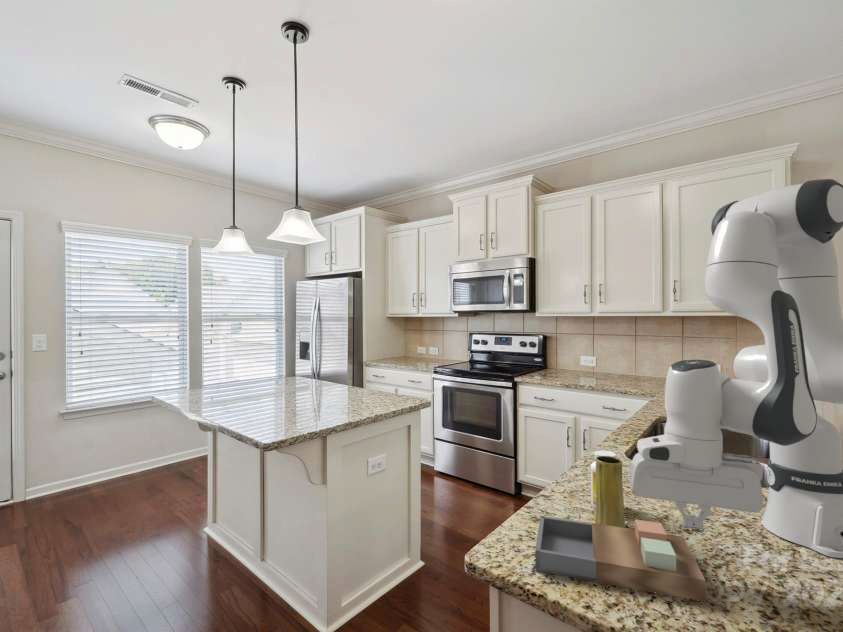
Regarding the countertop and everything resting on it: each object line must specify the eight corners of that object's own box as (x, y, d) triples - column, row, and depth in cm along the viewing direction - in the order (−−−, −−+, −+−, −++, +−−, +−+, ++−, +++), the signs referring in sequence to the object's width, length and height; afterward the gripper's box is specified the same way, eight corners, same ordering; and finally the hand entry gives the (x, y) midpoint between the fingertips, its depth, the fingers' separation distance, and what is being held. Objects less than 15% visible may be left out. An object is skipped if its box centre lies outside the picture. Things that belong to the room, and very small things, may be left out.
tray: (591, 540, 84) (591, 523, 84) (596, 581, 70) (595, 561, 70) (540, 532, 87) (540, 515, 87) (535, 570, 74) (535, 550, 74)
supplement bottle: (625, 515, 94) (624, 458, 94) (594, 512, 96) (593, 457, 96) (617, 502, 101) (616, 449, 101) (588, 500, 102) (587, 448, 102)
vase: (612, 535, 86) (611, 466, 86) (588, 522, 91) (587, 457, 91) (631, 527, 88) (630, 461, 89) (607, 516, 94) (606, 453, 94)
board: (682, 554, 78) (682, 536, 78) (705, 602, 65) (705, 580, 65) (591, 540, 84) (591, 523, 84) (596, 581, 70) (595, 561, 70)
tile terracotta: (661, 536, 78) (661, 523, 78) (666, 548, 74) (666, 534, 74) (635, 532, 80) (634, 519, 80) (638, 544, 76) (638, 530, 76)
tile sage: (669, 556, 72) (669, 541, 72) (676, 571, 68) (676, 555, 68) (641, 551, 73) (640, 537, 73) (645, 565, 69) (645, 550, 69)
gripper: (754, 452, 74) (754, 529, 74) (628, 439, 81) (628, 510, 81) (770, 462, 68) (770, 547, 68) (633, 448, 75) (632, 524, 75)
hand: (692, 527), depth 74 cm, fingers closed
